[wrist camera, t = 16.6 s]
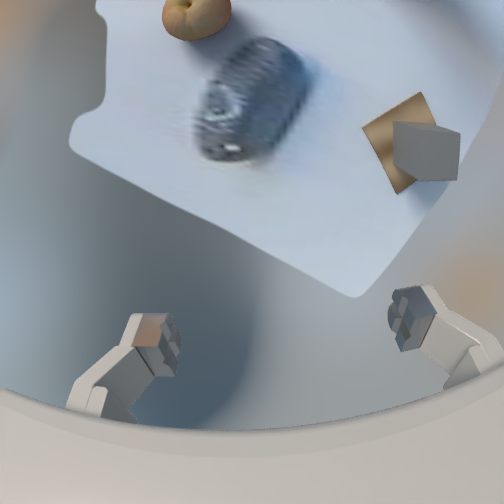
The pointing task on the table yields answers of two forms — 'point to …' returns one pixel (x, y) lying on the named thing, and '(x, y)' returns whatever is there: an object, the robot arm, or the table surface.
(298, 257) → the table surface
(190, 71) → the table surface
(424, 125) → the plain grey cube
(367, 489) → the robot arm
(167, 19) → the fruit
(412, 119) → the cork mat
